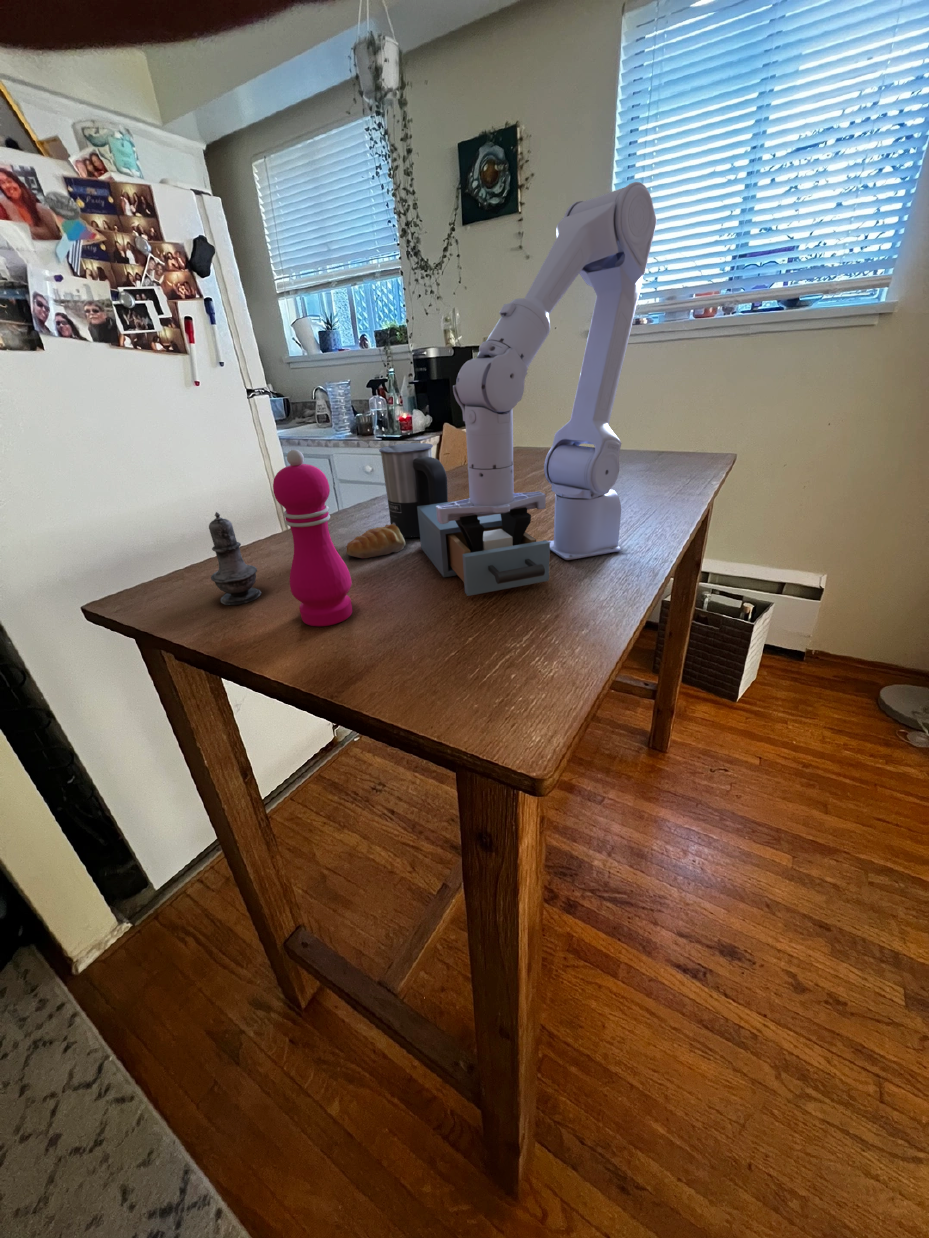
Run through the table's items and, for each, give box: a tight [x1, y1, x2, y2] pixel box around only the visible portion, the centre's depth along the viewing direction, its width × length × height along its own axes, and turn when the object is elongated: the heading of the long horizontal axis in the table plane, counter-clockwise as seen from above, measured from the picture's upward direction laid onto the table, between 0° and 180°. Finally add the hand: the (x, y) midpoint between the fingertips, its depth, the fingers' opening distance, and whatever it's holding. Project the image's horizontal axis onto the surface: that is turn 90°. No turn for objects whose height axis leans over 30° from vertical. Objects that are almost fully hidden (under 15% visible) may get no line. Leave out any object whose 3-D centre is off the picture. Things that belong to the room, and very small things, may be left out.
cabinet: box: [417, 500, 502, 578], centre depth 77 cm, size 14×13×7 cm
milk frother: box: [378, 442, 449, 539], centre depth 90 cm, size 14×16×15 cm
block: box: [482, 529, 513, 551], centre depth 68 cm, size 4×4×4 cm
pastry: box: [346, 523, 406, 559], centre depth 82 cm, size 9×7×4 cm
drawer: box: [445, 526, 551, 597], centre depth 67 cm, size 17×11×5 cm
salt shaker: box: [208, 511, 262, 606], centre depth 67 cm, size 6×6×12 cm
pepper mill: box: [272, 449, 354, 627], centre depth 58 cm, size 7×7×20 cm
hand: (493, 566), depth 69 cm, fingers closed on block, 4 cm apart
